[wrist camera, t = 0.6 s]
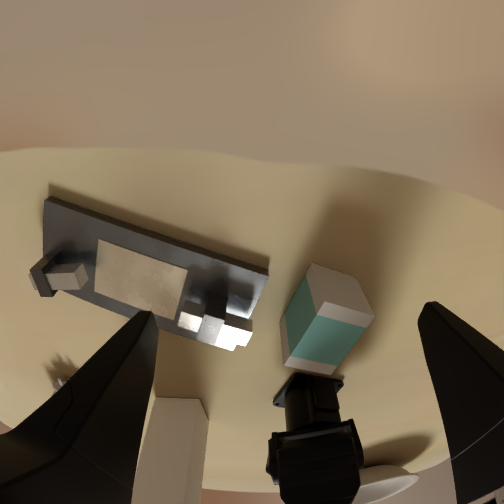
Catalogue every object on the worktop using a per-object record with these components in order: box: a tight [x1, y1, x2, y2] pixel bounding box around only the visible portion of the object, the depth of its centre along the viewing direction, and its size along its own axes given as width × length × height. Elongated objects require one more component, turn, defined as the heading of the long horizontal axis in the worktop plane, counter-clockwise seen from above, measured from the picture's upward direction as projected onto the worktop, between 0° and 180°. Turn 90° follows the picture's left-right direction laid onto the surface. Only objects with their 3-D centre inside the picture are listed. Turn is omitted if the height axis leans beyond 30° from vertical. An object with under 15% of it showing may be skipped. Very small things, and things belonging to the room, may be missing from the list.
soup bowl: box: [352, 465, 419, 504], centre depth 46 cm, size 24×24×7 cm
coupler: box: [279, 263, 375, 375], centre depth 24 cm, size 7×4×5 cm, turn 160°
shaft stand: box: [29, 196, 269, 351], centre depth 23 cm, size 9×20×4 cm, turn 70°
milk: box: [131, 397, 209, 504], centre depth 25 cm, size 6×6×22 cm
